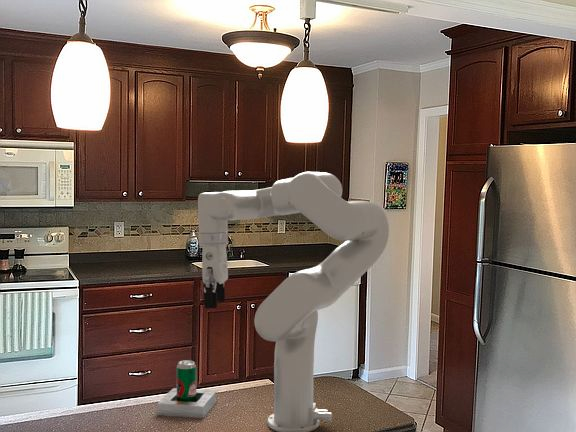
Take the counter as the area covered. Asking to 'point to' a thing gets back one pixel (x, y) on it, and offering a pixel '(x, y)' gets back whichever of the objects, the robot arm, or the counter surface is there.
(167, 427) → the counter surface
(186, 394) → the soda can
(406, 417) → the counter surface
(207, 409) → the plate
